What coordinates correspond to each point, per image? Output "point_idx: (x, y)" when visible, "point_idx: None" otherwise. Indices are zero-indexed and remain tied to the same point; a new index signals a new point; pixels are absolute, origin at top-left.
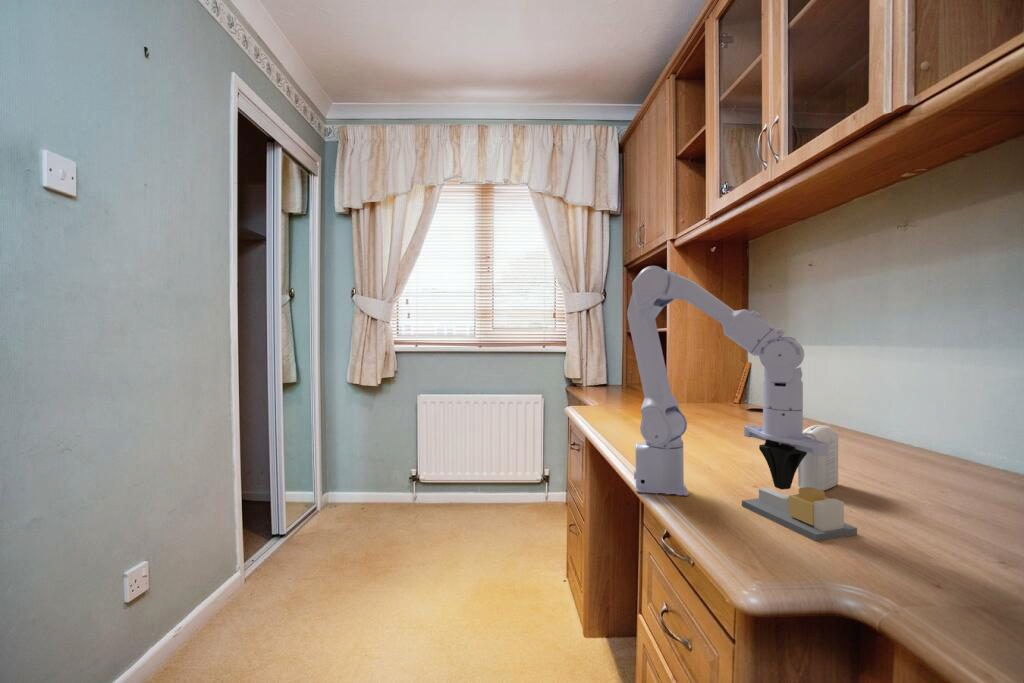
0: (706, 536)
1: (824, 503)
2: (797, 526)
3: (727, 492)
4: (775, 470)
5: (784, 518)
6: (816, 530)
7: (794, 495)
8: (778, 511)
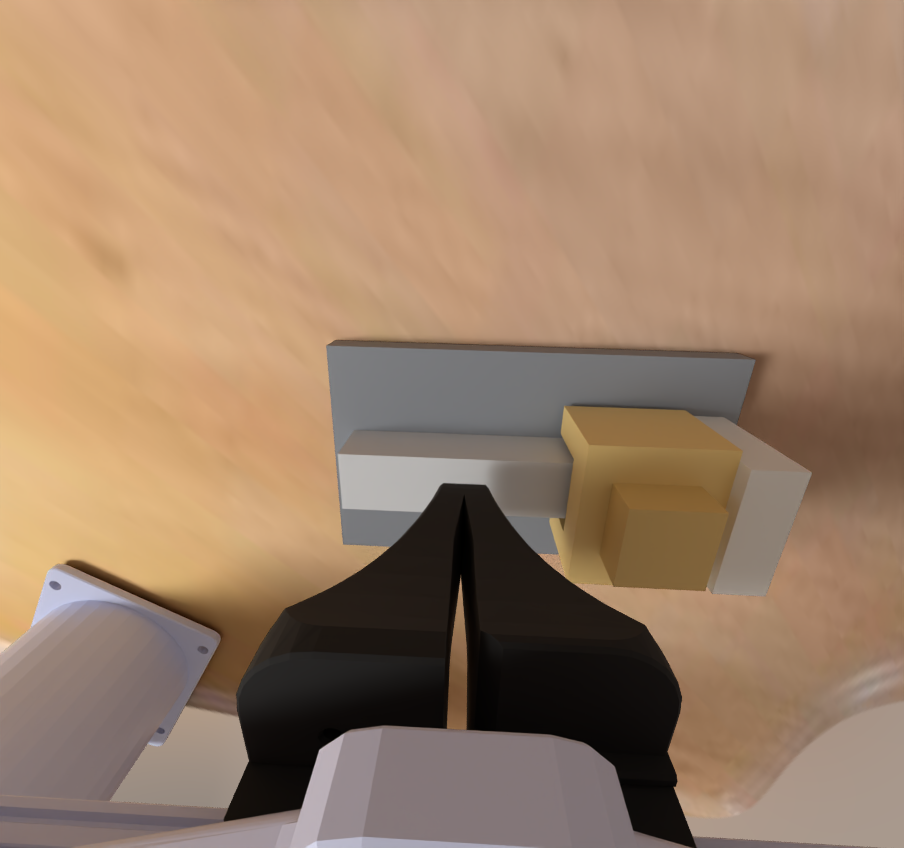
0: None
1: (760, 578)
2: None
3: (189, 465)
4: (451, 633)
5: (550, 544)
6: None
7: (579, 561)
8: None
